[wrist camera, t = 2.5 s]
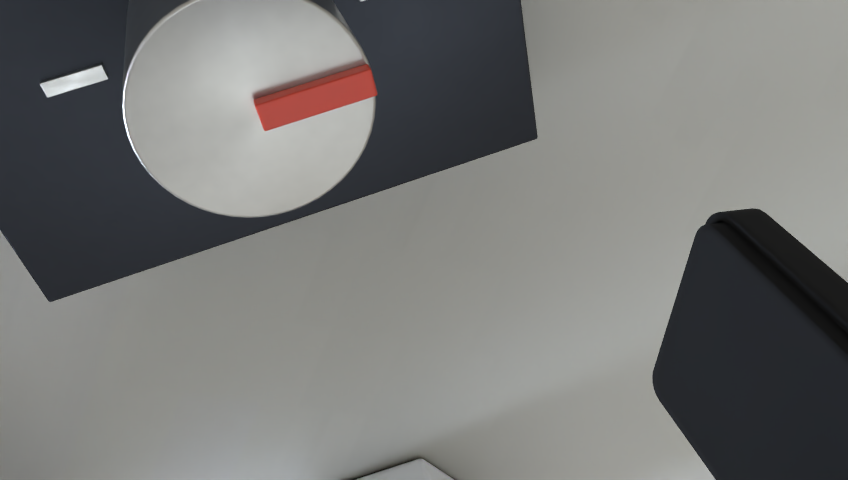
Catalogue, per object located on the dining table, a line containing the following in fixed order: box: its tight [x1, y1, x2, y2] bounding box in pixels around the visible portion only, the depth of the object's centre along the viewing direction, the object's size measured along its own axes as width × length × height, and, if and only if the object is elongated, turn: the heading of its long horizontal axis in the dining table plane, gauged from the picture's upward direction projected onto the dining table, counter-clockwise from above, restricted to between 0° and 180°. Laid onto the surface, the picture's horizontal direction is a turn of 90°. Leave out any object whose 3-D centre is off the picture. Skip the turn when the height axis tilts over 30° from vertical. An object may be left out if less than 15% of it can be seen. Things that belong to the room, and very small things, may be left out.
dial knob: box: [122, 0, 377, 218], centre depth 16 cm, size 5×5×5 cm
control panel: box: [0, 0, 537, 302], centre depth 19 cm, size 14×11×3 cm
